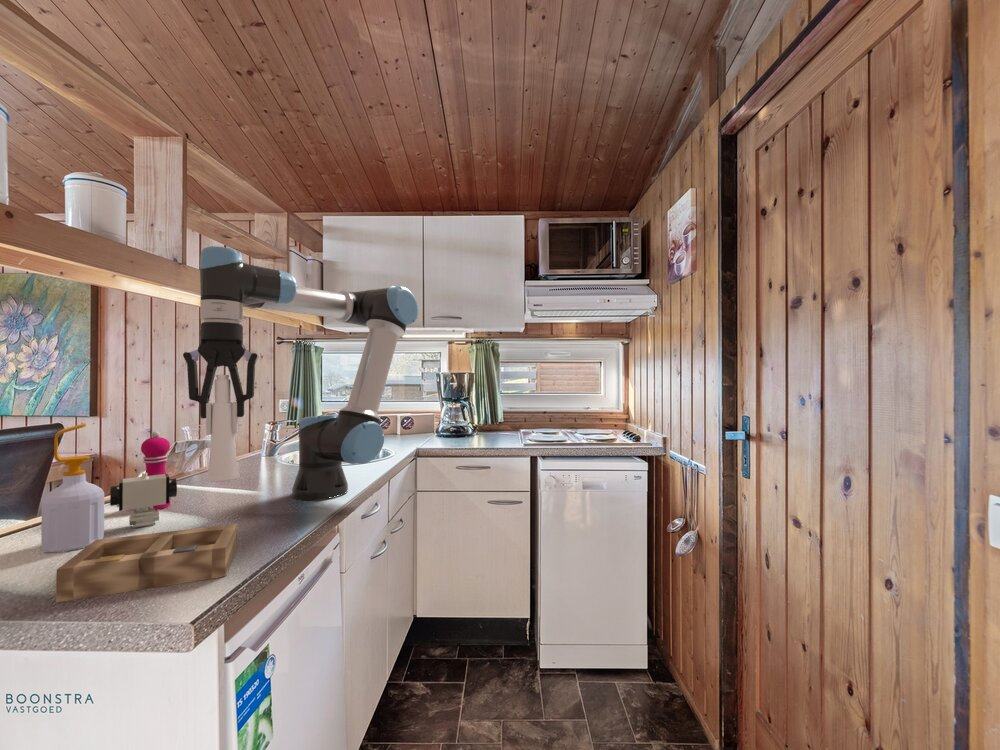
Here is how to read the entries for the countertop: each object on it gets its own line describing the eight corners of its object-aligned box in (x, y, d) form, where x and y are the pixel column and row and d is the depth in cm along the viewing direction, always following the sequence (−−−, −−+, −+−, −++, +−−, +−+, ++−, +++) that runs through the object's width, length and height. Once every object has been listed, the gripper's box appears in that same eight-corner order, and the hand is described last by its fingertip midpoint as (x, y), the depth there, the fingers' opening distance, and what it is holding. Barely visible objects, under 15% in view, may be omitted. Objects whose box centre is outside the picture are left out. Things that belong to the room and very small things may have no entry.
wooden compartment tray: (237, 548, 86) (237, 522, 86) (225, 576, 74) (225, 545, 74) (95, 567, 77) (95, 538, 77) (56, 602, 66) (56, 567, 66)
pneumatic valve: (176, 522, 102) (177, 471, 102) (109, 533, 94) (110, 479, 94) (174, 516, 106) (175, 467, 106) (110, 527, 98) (111, 474, 98)
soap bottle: (104, 544, 88) (105, 424, 88) (39, 557, 82) (40, 428, 82) (103, 533, 94) (104, 421, 95) (42, 544, 88) (43, 424, 88)
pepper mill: (135, 507, 113) (136, 431, 113) (170, 501, 118) (170, 428, 118) (139, 513, 108) (139, 433, 108) (174, 507, 113) (175, 431, 113)
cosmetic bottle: (246, 475, 94) (245, 374, 94) (228, 482, 88) (227, 374, 88) (218, 475, 94) (217, 374, 94) (199, 482, 88) (198, 375, 88)
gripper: (167, 318, 84) (168, 438, 84) (266, 322, 91) (266, 433, 91) (178, 322, 91) (179, 433, 91) (269, 326, 98) (269, 428, 98)
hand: (222, 433), depth 91 cm, fingers closed on cosmetic bottle, 4 cm apart
